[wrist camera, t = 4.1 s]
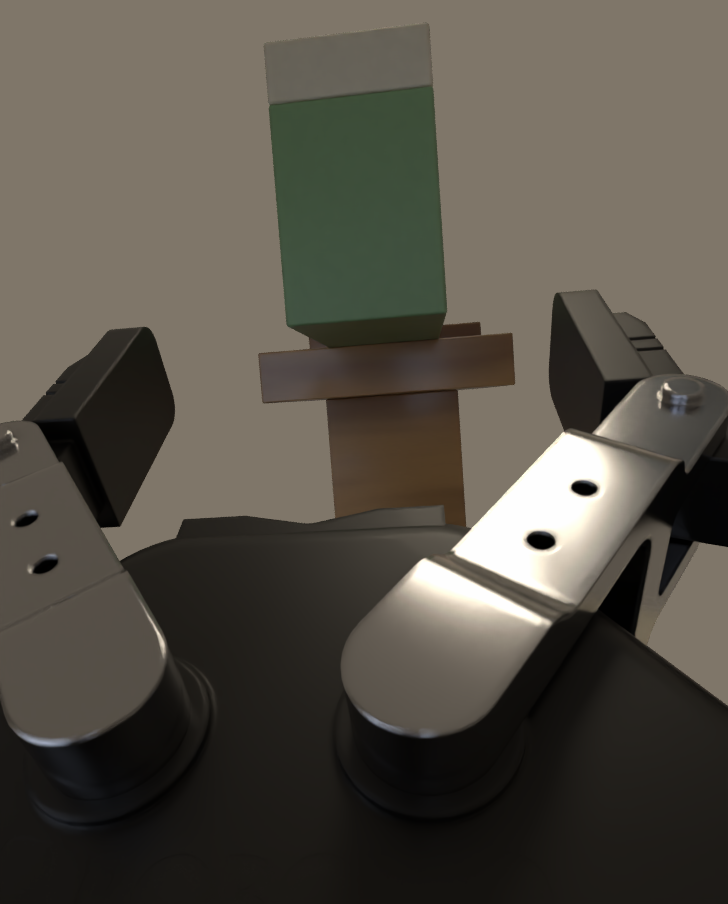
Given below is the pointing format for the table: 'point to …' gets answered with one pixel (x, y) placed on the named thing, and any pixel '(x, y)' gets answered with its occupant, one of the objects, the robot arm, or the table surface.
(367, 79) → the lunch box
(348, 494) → the plant stand
